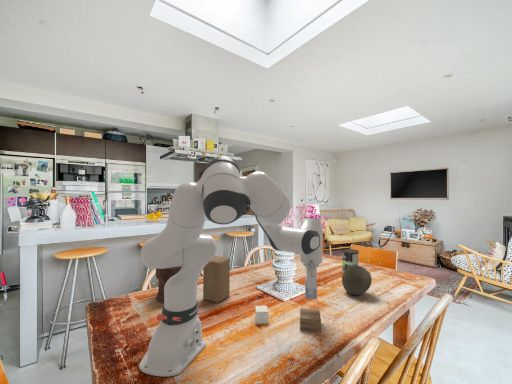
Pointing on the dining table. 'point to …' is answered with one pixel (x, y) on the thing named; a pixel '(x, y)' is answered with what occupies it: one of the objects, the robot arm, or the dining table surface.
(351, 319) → the dining table surface
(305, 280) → the blue block
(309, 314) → the walnut base
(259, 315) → the cream cube
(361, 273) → the dark grey ball
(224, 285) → the wooden block
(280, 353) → the dining table surface
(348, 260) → the coffee can
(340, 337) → the dining table surface
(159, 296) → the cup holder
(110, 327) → the dining table surface
